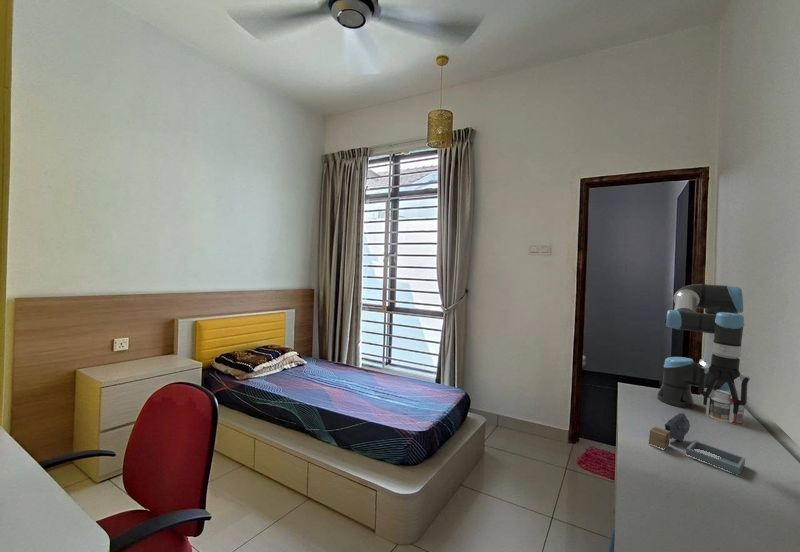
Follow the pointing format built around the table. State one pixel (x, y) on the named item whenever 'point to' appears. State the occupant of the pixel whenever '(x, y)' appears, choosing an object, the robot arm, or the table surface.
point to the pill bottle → (720, 405)
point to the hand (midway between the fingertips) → (719, 417)
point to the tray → (726, 461)
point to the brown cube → (659, 437)
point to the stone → (678, 427)
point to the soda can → (738, 414)
